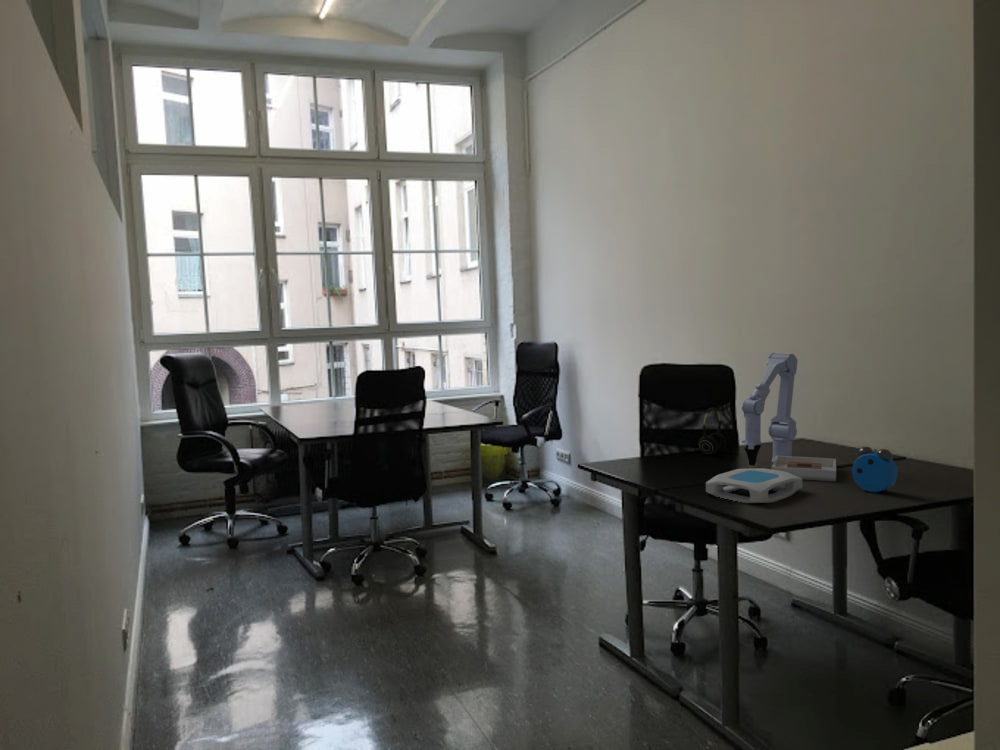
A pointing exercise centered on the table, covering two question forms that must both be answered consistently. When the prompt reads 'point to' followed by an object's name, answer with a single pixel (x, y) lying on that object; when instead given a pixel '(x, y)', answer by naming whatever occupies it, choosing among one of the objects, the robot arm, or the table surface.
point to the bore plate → (804, 465)
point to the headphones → (712, 438)
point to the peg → (752, 465)
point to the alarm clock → (874, 470)
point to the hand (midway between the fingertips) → (752, 464)
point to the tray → (807, 474)
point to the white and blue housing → (754, 485)
